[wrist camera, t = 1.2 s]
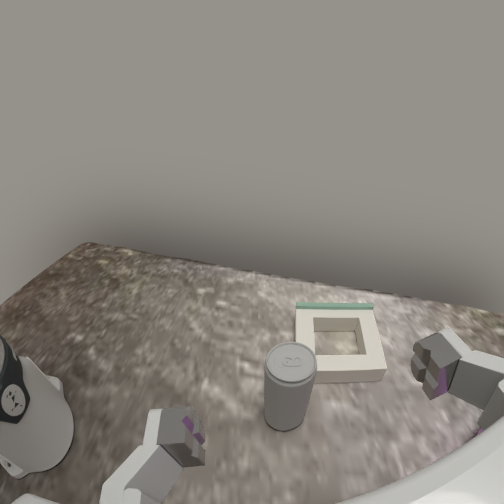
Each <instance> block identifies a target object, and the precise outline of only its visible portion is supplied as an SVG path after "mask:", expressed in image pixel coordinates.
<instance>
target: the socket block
mask: <svg viewBox="0 0 504 504" xmlns="http://www.w3.org/2000/svg"><path fill="white" fill-rule="evenodd" d="M372 309H373V304H372V303H302V302H296V310H295V342H298V343H302V344H304V345H306V346H308V347H309V348H310V349H311V350H312V351H313V352H314V354H315V343H314V331H355V334H356V339H357V345H358V351H359V355H315V356H316V359H317V372H316V376H315V380H314V383H350V382H371V381H381V379H382V377H383V375H384V373H385V371H386V370H387V366H386V362H385V357H384V353H383V349H382V345H381V340H380V336H379V333H378V329H377V325H376V321H375V317H374V314H373V310H372Z"/></svg>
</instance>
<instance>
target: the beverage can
mask: <svg viewBox="0 0 504 504" xmlns="http://www.w3.org/2000/svg"><path fill="white" fill-rule="evenodd" d="M316 372H317V359H316V356H315V354H314V352H313V351H312V350H311V349H310V348H309V347H308V346H306V345H304V344H302V343H298V342H284V343H281V344H278V345H276V346H275V347H273V348H272V349H271V350H270V351H269V353H268V355H267V358H266V361H265V381H264V415H265V419H266V421H267V423H268V424H269V425H270V426H271V427H273V428H274V429H277V430H281V431H286V430H291V429H293V428H295V427H297V426H298V425H300V424H301V422H302V421H303V419H304V416H305V413H306V409H307V406H308V402H309V399H310V395H311V391H312V387H313V384H314V380H315V376H316Z"/></svg>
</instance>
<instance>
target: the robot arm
mask: <svg viewBox="0 0 504 504" xmlns="http://www.w3.org/2000/svg"><path fill="white" fill-rule="evenodd" d="M413 351H414V352H415V354H414V356H413V357H412V358H411V370H412V373H413V375H414V377H415V379H416V380H417V381H419V382H422V383H423V386H422V389H423V391H424V392H425V394H426V395H427V396H428V398H429V399H430V400H432V399H434V398H436V397H438V396H440V395H442V394H444V393H446V392H448V393H450V394H452V395H454V396H456V397H458V398H460V399H462V400H464V401H466V402H468V403H470V404H472V405H474V406H476V407H478V408H480V409H482V410H484V411H483V412H482V414H481V416H480V417H479V419H478V422H477V423H478V425H479V426H480V428H481V429H482V431H483V432H481V433H480V434H478V435H477V436H476V437H474V438H473V439H471V440H470V441H468V442H467V443H465V444H464V445H462V446H461V447H459V448H457V449H456V450H454V451H453V452H451V453H449V454H448V455H446V456H444V457H442V458H441V459H439V460H437V461H435V462H434V463H432V464H430V465H428V466H426V467H424V468H422V469H420V470H418V471H416V472H414V473H412V474H410V475H408V476H406V477H404V478H402V479H399V480H397V481H395V482H393V483H390V484H388V485H386V486H383V487H381V488H378V489H376V490H373V491H370V492H368V493H365V494H362V495H359V496H357V497H354V498H351V499H347V500H344V501H341V502H338V503H334V504H504V358H501V357H497V356H494V355H490V354H487V353H484V352H480V351H477V350H474V351H472V350H471V349H470V348H469V347H468V346H467V345H466V344H465V343H464V342H463V341H462V340H461V339H460V338H459V337H458V336H457V335H456V334H455V333H454V332H453V331H452V330H451V329H450V328H448V327H447V328H445V329H443V330H441V331H439V332H437V333H434V334H432V335H430V336H428V337H426V338H424V339H422V340H419V341H417V342H415V344H414V346H413ZM73 431H74V423H73V416H72V413H71V410H70V407H69V405H68V404H67V402H66V400H65V398H64V393H63V384H62V382H61V381H60V380H59V379H58V378H57V377H53V376H46V375H45V374H44V373H43V372H42V371H41V370H40V369H39V368H38V367H37V366H36V365H35V364H34V362H33V361H32V360H31V359H30V358H28V357H22V356H17V355H16V353H15V352H14V350H13V348H12V347H11V346H10V344H9V343H8V342H7V341H6V340H5V339H4V338H3V337H2V336H1V335H0V463H1V465H2V466H3V467H4V468H5V469H6V471H7V472H8V473H9V474H10V475H11V476H13V477H14V478H16V479H20V478H22V477H24V476H25V475H27V474H28V473H31V472H41V471H45V470H48V469H50V468H52V467H54V466H55V465H57V464H58V463H59V462H60V461H61V460H62V459H63V457H64V456H65V455H66V453H67V451H68V449H69V447H70V445H71V441H72V438H73ZM204 442H205V431H204V426H203V424H202V421H201V420H200V418H198V417H196V416H195V411H194V410H193V408H192V407H191V406H185V407H174V408H162V409H151V410H150V412H149V413H148V418H147V423H146V429H145V434H144V440H143V445H139V446H138V447H137V448H136V449H135V451H134V452H133V453H132V454H131V455H130V456H129V457H128V458H127V459H126V460H125V461H124V462H123V464H122V465H121V466H120V467H119V468H118V469H117V470H116V471H115V472H114V473H113V474H112V475H111V476H110V477H109V478H108V480H107V481H106V482H105V483H104V484H103V486H102V491H101V497H100V502H99V504H161V503H162V501H163V500H164V498H165V497H166V495H167V494H168V492H169V491H170V489H171V487H172V486H173V484H174V483H175V481H176V480H177V478H178V477H179V475H180V473H181V472H182V470H183V467H195V466H205V450H204V449H203V447H202V444H203V443H204ZM10 465H11V466H10ZM11 504H60V503H56V502H53V501H50V500H47V499H44V498H42V497H39V496H36V495H33V494H29V493H27V494H24V495H22V496H20V497H19V498H18V499H16V500H15V501H14V502H12V503H11Z"/></svg>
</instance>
